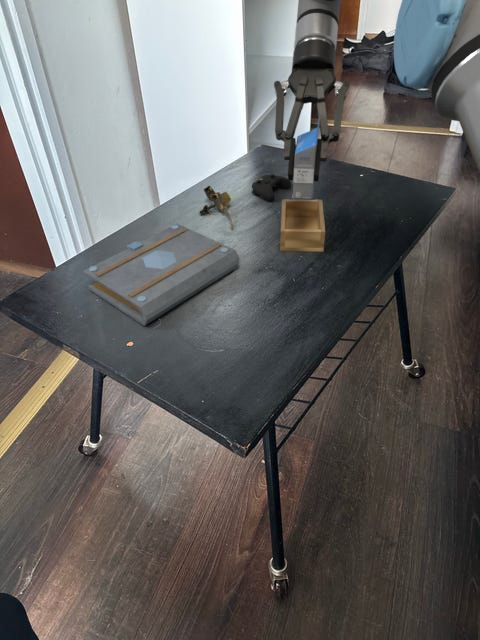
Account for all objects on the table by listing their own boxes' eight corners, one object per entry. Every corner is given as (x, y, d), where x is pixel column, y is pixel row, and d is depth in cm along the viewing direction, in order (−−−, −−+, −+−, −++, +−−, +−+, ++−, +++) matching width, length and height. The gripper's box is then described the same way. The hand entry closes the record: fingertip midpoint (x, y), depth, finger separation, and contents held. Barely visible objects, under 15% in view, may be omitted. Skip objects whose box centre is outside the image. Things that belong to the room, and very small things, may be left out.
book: (148, 330, 73) (142, 305, 70) (87, 290, 82) (80, 265, 79) (239, 271, 85) (238, 247, 82) (178, 241, 94) (175, 218, 90)
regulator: (248, 229, 98) (224, 190, 107) (243, 216, 95) (218, 176, 104) (216, 246, 98) (194, 205, 107) (209, 233, 95) (188, 192, 104)
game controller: (273, 200, 104) (257, 177, 103) (259, 212, 108) (242, 190, 107) (294, 183, 110) (278, 162, 109) (280, 195, 114) (264, 175, 113)
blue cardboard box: (294, 178, 92) (298, 112, 84) (314, 179, 92) (320, 112, 84) (291, 199, 85) (294, 129, 77) (313, 200, 85) (319, 129, 77)
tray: (320, 218, 99) (322, 199, 96) (323, 251, 89) (325, 231, 86) (281, 218, 100) (282, 199, 97) (280, 251, 90) (280, 230, 87)
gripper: (361, 64, 87) (350, 187, 85) (269, 63, 90) (257, 183, 88) (365, 36, 80) (354, 170, 78) (265, 37, 82) (252, 167, 81)
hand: (303, 177), depth 83 cm, fingers closed on blue cardboard box, 4 cm apart
